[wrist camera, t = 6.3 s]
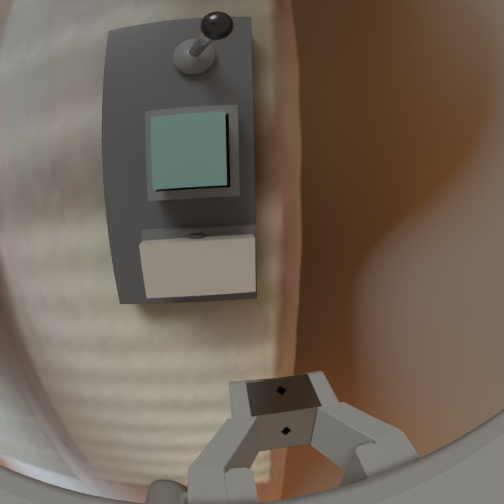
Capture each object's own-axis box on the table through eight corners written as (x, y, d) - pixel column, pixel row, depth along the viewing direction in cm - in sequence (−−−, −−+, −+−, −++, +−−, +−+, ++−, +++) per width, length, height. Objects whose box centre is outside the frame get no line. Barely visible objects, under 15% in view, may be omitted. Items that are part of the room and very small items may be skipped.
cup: (185, 469, 36) (184, 510, 28) (213, 487, 38) (215, 523, 31) (137, 479, 36) (132, 514, 28) (165, 496, 38) (164, 529, 31)
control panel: (252, 284, 28) (262, 314, 22) (128, 290, 27) (110, 320, 21) (247, 31, 21) (255, 0, 15) (118, 42, 20) (97, 17, 14)
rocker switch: (252, 284, 23) (255, 294, 21) (151, 290, 22) (147, 300, 20) (251, 229, 22) (254, 235, 20) (143, 236, 21) (138, 242, 19)
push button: (225, 182, 20) (227, 185, 17) (161, 186, 19) (152, 189, 16) (224, 119, 18) (225, 111, 16) (160, 124, 18) (150, 117, 15)
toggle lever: (206, 65, 19) (239, 34, 13) (180, 64, 18) (206, 30, 13) (206, 43, 18) (238, 9, 13) (181, 41, 17) (207, 4, 12)
